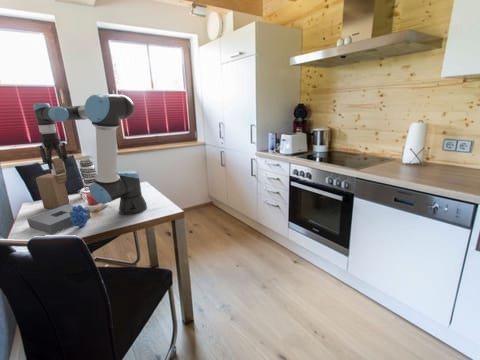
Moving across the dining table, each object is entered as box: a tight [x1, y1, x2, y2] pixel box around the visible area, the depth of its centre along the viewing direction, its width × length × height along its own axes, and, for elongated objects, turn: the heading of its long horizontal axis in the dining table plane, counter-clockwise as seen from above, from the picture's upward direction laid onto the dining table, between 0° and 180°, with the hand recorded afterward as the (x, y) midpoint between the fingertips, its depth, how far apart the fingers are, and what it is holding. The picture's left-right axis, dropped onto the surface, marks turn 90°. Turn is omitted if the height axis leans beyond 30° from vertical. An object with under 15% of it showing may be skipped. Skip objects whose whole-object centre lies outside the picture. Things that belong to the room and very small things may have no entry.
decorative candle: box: [78, 158, 97, 189], centre depth 175 cm, size 9×9×25 cm
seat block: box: [26, 204, 92, 235], centre depth 135 cm, size 20×20×5 cm
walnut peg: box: [52, 157, 68, 184], centre depth 146 cm, size 5×5×14 cm
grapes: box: [70, 204, 88, 228], centre depth 128 cm, size 12×7×12 cm, turn 178°
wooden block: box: [35, 172, 70, 209], centre depth 157 cm, size 10×10×20 cm
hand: (59, 173), depth 147 cm, fingers closed on walnut peg, 5 cm apart
